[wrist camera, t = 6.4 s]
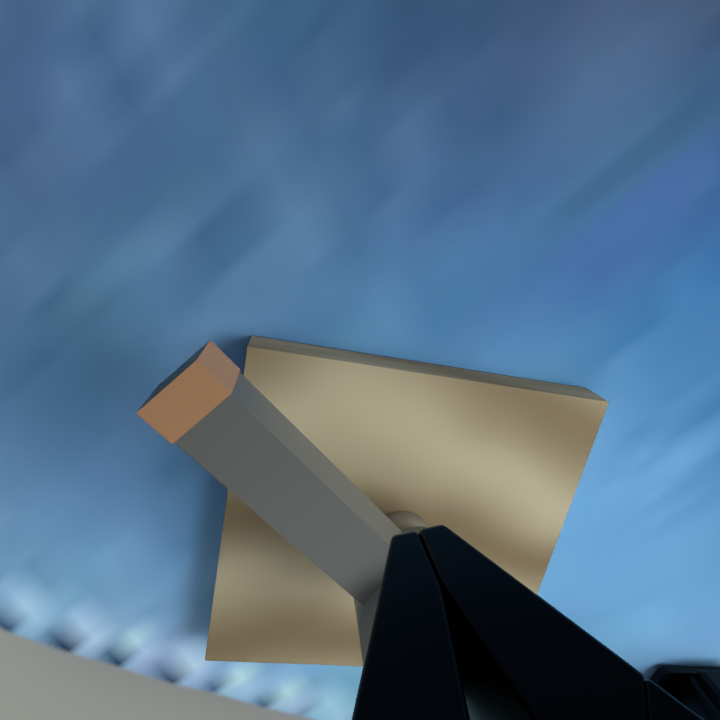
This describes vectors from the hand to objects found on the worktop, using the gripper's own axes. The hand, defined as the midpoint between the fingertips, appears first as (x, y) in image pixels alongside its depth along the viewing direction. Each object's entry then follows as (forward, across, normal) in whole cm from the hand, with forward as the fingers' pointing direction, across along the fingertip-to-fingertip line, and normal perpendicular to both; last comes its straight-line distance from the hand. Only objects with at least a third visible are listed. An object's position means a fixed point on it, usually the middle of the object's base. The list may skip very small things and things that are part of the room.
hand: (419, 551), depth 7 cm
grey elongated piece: (+7, +2, +4) cm, 9 cm away
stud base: (+11, -1, +8) cm, 14 cm away
